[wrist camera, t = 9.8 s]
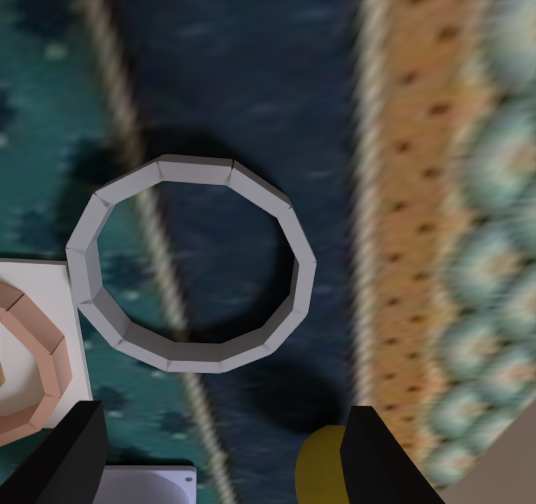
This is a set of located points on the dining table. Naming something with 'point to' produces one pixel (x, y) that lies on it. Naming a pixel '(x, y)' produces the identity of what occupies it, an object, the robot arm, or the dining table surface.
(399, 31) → the dining table surface
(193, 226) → the dining table surface
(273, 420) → the dining table surface
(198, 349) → the ring
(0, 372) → the ochre block
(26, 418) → the ring
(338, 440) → the lemon
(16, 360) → the card
